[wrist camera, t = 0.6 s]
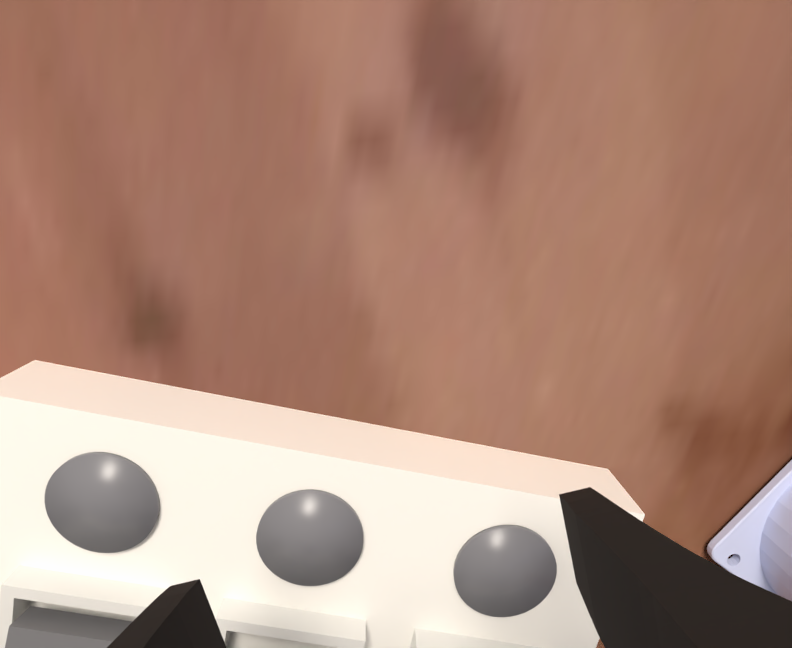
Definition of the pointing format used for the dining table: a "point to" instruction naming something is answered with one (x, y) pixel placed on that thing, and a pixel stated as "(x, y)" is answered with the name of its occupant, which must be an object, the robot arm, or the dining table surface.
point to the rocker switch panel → (280, 520)
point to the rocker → (62, 630)
